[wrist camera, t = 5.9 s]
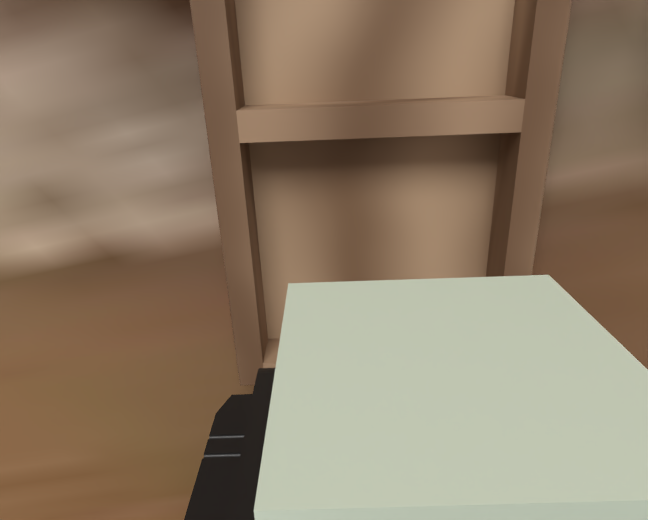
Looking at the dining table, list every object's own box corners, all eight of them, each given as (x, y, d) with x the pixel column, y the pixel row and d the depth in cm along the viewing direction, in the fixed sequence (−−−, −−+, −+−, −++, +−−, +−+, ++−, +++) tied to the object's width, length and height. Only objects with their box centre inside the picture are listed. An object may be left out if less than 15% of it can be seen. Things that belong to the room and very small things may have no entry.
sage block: (548, 275, 9) (779, 497, 4) (516, 469, 11) (654, 762, 6) (288, 283, 9) (254, 510, 5) (302, 475, 11) (286, 770, 7)
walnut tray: (568, -264, 13) (620, -334, 11) (495, 341, 21) (516, 377, 19) (180, -244, 14) (149, -309, 11) (249, 348, 21) (240, 385, 19)
